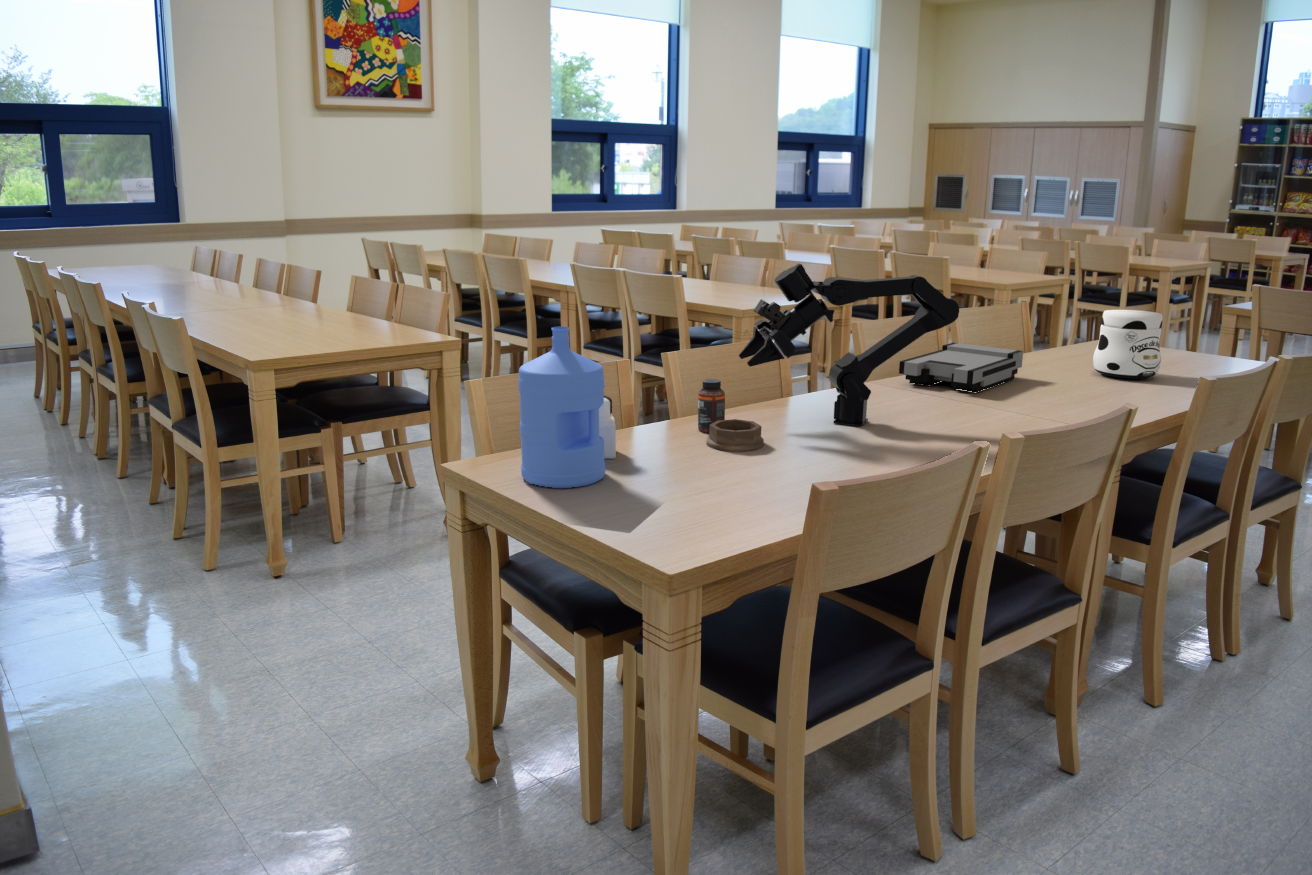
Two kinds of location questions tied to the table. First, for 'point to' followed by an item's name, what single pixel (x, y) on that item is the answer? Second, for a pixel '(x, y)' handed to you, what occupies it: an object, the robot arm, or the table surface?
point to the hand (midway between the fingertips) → (743, 361)
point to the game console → (963, 366)
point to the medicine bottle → (607, 428)
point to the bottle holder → (735, 435)
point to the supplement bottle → (710, 404)
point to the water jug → (561, 417)
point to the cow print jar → (1129, 344)
